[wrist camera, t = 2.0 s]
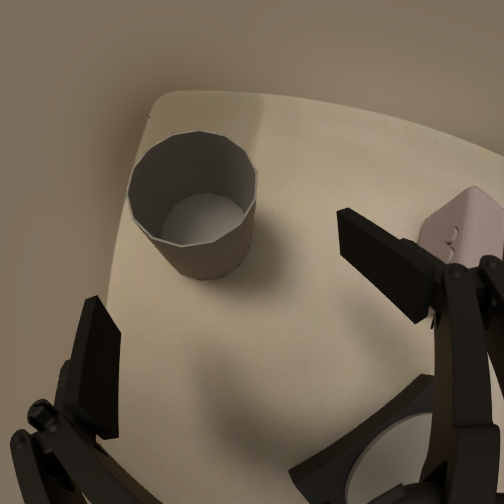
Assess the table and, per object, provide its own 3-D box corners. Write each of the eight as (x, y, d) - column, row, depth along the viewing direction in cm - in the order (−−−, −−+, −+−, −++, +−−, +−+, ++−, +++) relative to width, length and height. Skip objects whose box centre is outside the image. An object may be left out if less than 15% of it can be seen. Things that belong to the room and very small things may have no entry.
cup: (149, 263, 26) (106, 224, 17) (179, 186, 29) (157, 122, 19) (236, 290, 26) (236, 263, 17) (261, 208, 28) (272, 146, 19)
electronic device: (419, 216, 29) (473, 174, 20) (449, 236, 29) (505, 202, 19) (394, 298, 27) (458, 276, 17) (427, 316, 26) (495, 302, 17)
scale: (348, 541, 19) (359, 559, 15) (287, 470, 22) (295, 489, 18) (458, 455, 22) (479, 463, 18) (420, 373, 25) (444, 376, 21)
